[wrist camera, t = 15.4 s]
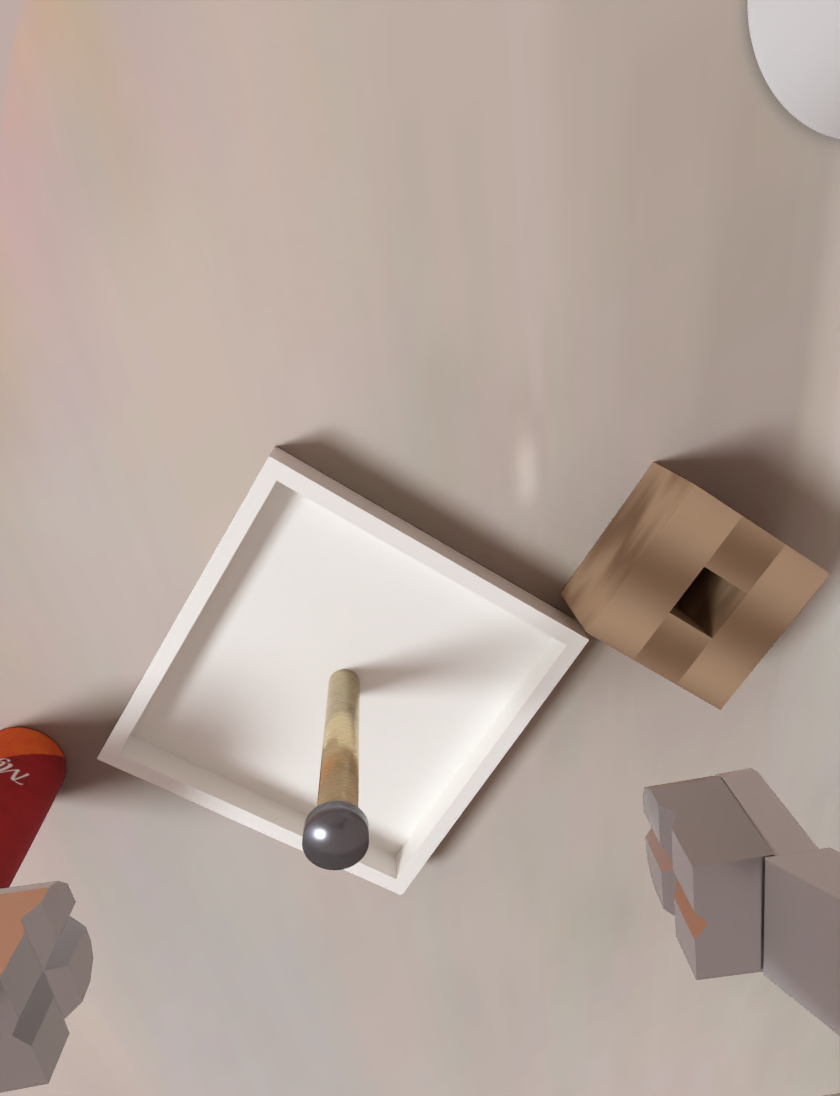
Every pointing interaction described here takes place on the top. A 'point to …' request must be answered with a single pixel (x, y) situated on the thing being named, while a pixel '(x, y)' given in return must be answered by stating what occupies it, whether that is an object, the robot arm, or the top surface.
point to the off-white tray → (327, 646)
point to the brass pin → (338, 783)
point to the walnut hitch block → (689, 586)
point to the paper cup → (25, 792)
